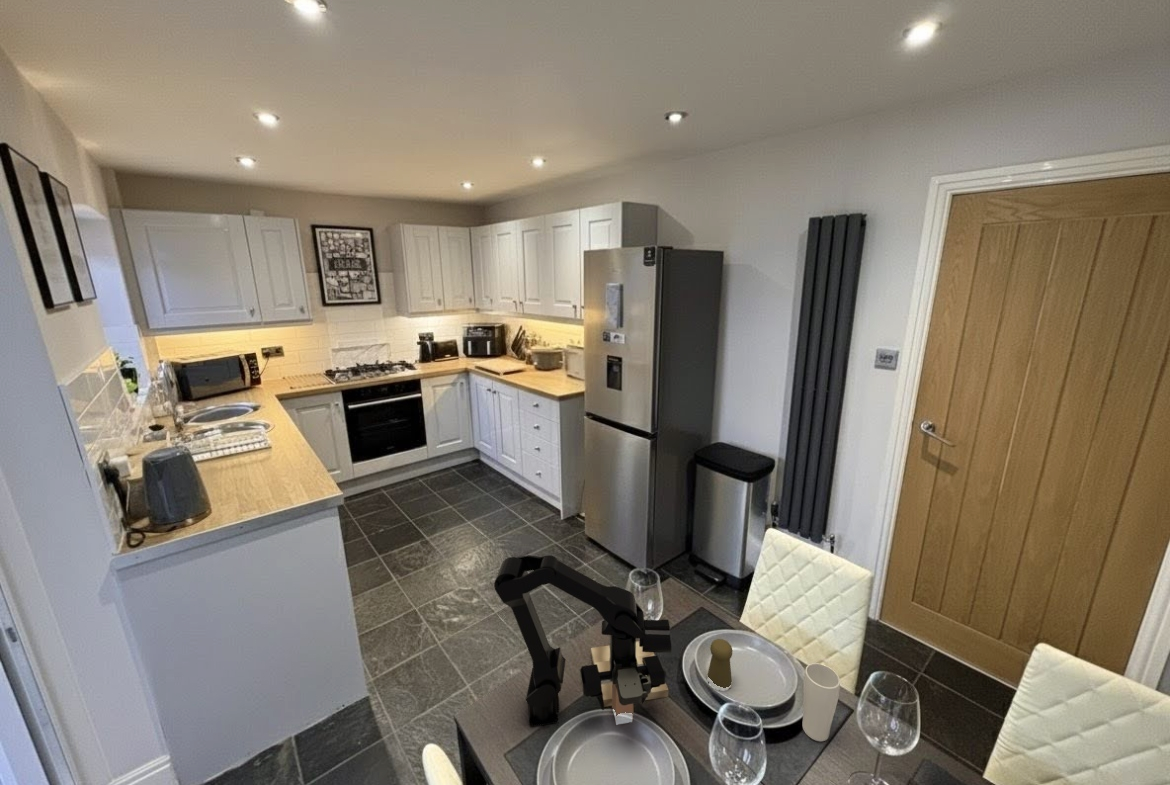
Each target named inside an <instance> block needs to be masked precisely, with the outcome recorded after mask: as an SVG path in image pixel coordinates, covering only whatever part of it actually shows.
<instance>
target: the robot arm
mask: <svg viewBox="0 0 1170 785" xmlns="http://www.w3.org/2000/svg"><path fill="white" fill-rule="evenodd" d="M542 585H551V586H553V587H555V588H557V589H558V590H560V591H562V592H563V593H566V594H568V595H570V596H571V597H574V598H575V599H577V600H579V601H581V602H582V603H584V604H586V605H588V606H590V607H591V608H592V609H594V610H596V611H597V612H598V614H599V615H600V616H601V617H602V619H603V620H602V621H601V631H600V632H601V635H603V636H609V643H608V646H609V647H610V658H609V662H610V671H604V672H599V671H598V667H597V664H595V665H593V664H590V665H583V666H581V667H580V669H579V678H580V683H581V690H582V693H583V695H584V696H585V697H591V698H596V699H597V702H598V703H599V705H600V708H601V710H602V711H605V707H604V701H603V693H602V687H601V684H607V683H613V684H616V687H617V692H618V697H619V702H620V704H621V705H628V704H633V705H634V704H641V705H642V704H644V703H645V702H646V700H645V699H646V697H648V694H649V693H650V692H651V689H652V688H654V687H659V686H660V685H663V684H665V683H666V684H667V671H666V669H665V667H664V664H663V662H662V659H661V657H660V656H659V655H655V656H650V657H643V658H642V662H643V664H637V659H636V642H637V639H638V641H639V647H642V652H654V653H662V654H663V653H664V654H665V653H666V654H668V653H669V654H671V653H672V642H671V641H672V640H671V631H670V628H671V626H670V620H669V619H645V615H644V614H645V613H644V610H643V609H642V608H641V607H640V605H639V604H638V603H637V601H636V600H637V599H636V597H635V595H634V594H633V593H632V592H631V591H629V590H627V589H624V588H622V587H619V586H616V585H615V586H614V585H612V586H606V585H604V584H601V583H599V581H596V580H594V579H593V578H590V577H589V576H587V575H585V574H583V573H581V572H579V571H578V570H577V569H574V568H573V567H570V566H569V565H567V564H565V563H563V562H561V561H559V560H558V558H557V557H556V556H554V555H552V554H551V555H550V554H549V555H548V554H547V555H542V556H536V555H531V554H527V555H522V556H518V557H515V556H511V557H507V558H505V559H504V560H503V561H502V563H501V565H500V567H499V570H498V572H497V575H496V577H495V580H494V584H493V588H494V591H495V592H496V594H497V595H498V597H499V599H500V600H501V602H502V603H503V604H505V605H506V606H508V607H510V609H511V611H512V613H513V617H514V618H515V621H516V623H517V625H518V628H519V632H520V633H521V636H522V638H523V641H524V643H525V646H526V648H527V651H528V653H529V656H530V657H531V658H530V659H531V661H532V669H531V673H530V676H529V683H528V687H527V692H526V696H525V697H526V698H525V701H526V703H527V705H528V719H529V720H528V721H529V722H528V725H529V727H530V728H533V727H538V726H540V727H541V726H546V725H552V724H557V723H558V722H559V717H558V714H559V713H560V696H559V694H560V693H561V691H562V684H563V683H564V676H565V675H564V674H565V667H566V658H565V657H564V655H563V653H562V648H561V647H560V646H559V647H557V648H554V647H553V646H551V645H550V643H549V640H548V638H547V636H546V632H545V630H544V627H543V625H542V623H541V621H540V618H539V616H538V613H537V609H536V607H535V604H534V602H533V600H532V597H531V595H530V594H531V593H530V592H531V591H533V590H534V589H537V588H539V587H541V586H542Z"/></svg>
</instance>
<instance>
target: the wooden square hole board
mask: <svg viewBox="0 0 1170 785" xmlns="http://www.w3.org/2000/svg"><path fill="white" fill-rule="evenodd" d="M650 656H656V655H655V652H642V647H639V640H637V641H636V659H637V664H643V662H642V658H643V657H650ZM590 657H591V659H592V665H595V664H597V667H598V671H599V672H604V671H610V662H609V658H610V647H609V645H601V646H596V647H595V646H594V647H591V648H590ZM601 687H602V693H603V701H604V708H605V707H612V683H607V684H601ZM668 697H669V688H668V685H667V682H666V683H665V684H663V685H660V686H659V687H654V688H652V689H651V692H650V693H649V694H648V697H646V699H645V701H648V700H649V701H651V700H655V699H663V698H668Z"/></svg>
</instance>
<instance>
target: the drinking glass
mask: <svg viewBox="0 0 1170 785" xmlns="http://www.w3.org/2000/svg"><path fill="white" fill-rule="evenodd" d="M840 685H841V679H840V676H839V674H838V673H837V672H836V671H835V670H834V669H833V668H831V667H830V666H828V665H825V664H824V663H818V662H813V663H809V664H808V665H806V667H805V670H804V676H803V686H802V687H803V688H802V689H803V690H802V691H803V692H802V697H803V698H802V699H803V700H802V702H803V703H802V729H803V731H804V733H805V735H807V736H808V737H809V738H810V739H812V740H814V741H816V742H824V741H827V740H828V739H829V738H830V732H831V728H832V724H833V719H834V715H835V712H836V708H837V704H838V701H839V695H840V687H841V686H840Z"/></svg>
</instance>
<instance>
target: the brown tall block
mask: <svg viewBox="0 0 1170 785" xmlns="http://www.w3.org/2000/svg"><path fill="white" fill-rule="evenodd" d="M612 708H613V709H614V710H615V712H616V716H617V715H618V714H620V713H625V712H626V713H632V714H633V715H634V704H628V705H621V704H620V702H619V697H618V692H617V687H616V684H613V683H612V706H611V709H612Z"/></svg>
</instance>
